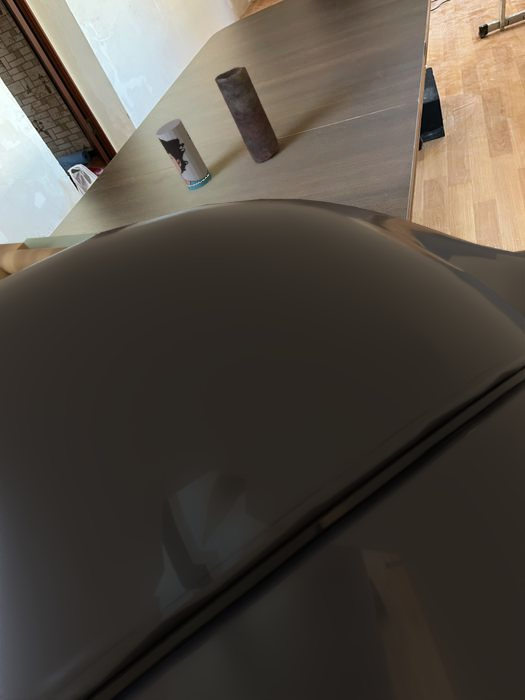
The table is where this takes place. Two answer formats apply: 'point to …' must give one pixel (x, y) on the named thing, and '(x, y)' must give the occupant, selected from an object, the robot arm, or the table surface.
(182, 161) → the grey printed cylinder
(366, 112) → the table surface
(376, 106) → the table surface
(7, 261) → the wooden tool
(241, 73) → the dark brown cylinder
